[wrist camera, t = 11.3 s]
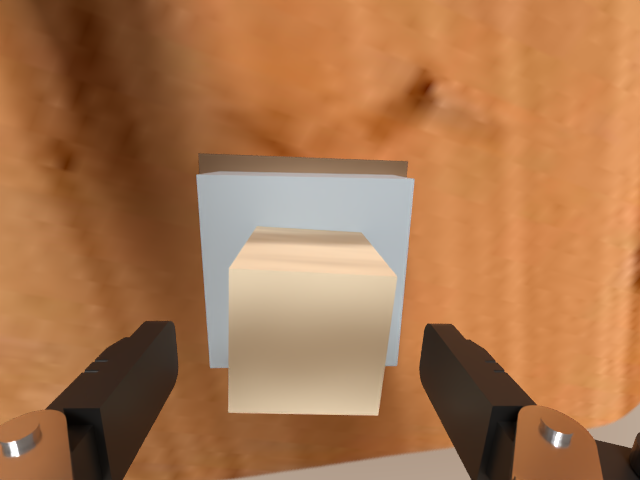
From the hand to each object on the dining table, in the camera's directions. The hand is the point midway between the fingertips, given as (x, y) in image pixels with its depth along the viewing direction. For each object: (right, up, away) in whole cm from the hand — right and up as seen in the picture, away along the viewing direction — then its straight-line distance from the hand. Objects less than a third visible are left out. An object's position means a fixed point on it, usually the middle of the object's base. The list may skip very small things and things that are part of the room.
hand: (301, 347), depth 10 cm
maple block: (0, +2, +6) cm, 6 cm away
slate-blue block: (0, +3, +10) cm, 10 cm away
